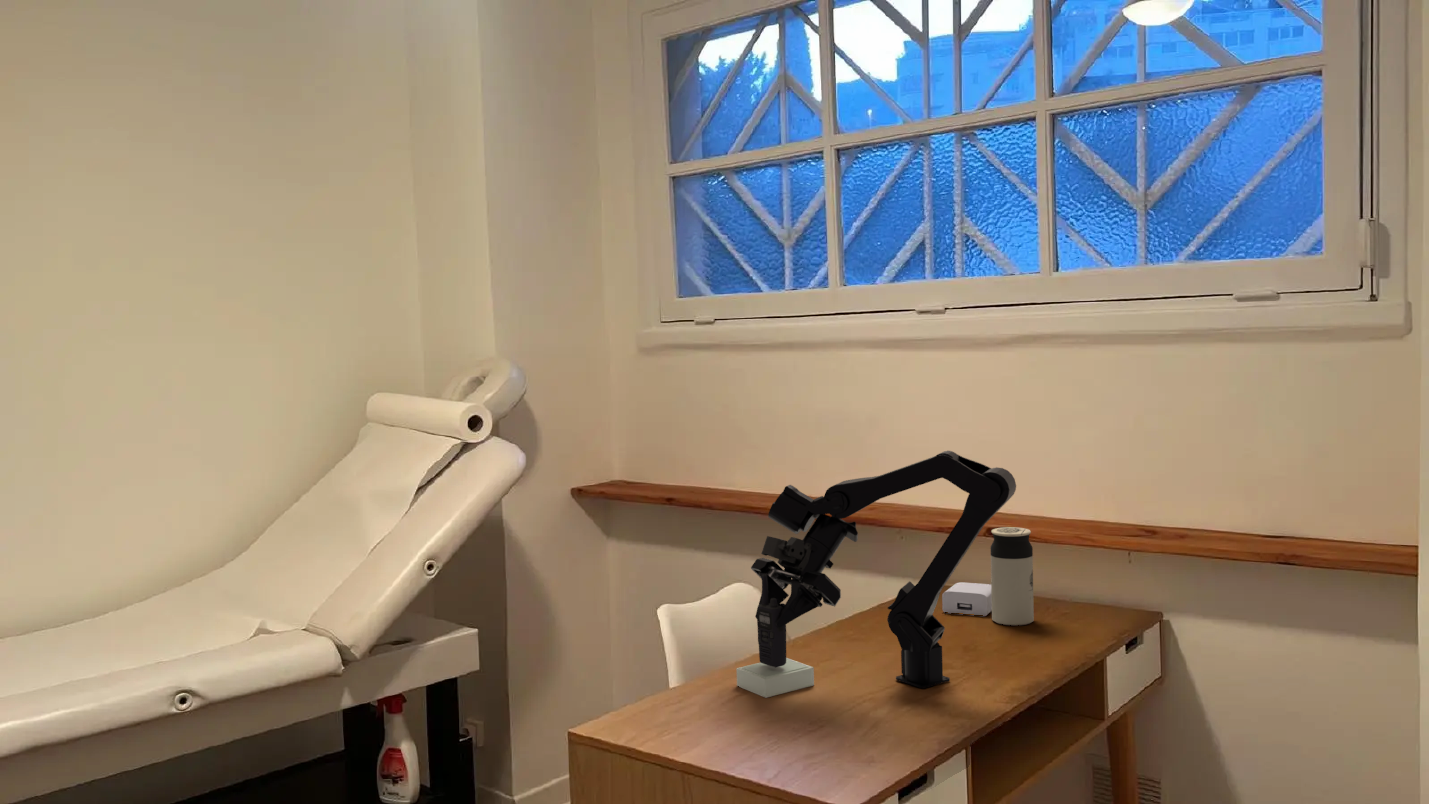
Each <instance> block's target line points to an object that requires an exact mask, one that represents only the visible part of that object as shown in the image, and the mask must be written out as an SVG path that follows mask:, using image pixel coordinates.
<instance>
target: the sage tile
mask: <svg viewBox="0 0 1429 804" xmlns="http://www.w3.org/2000/svg"><path fill="white" fill-rule="evenodd" d="M735 670H736V686H737V687H738V686H739V688H742V689H743V690H746V691H748V692H751V693H754V694H755V695H758V696H760V697H763V698H770V697H774V696H777V695H781V694H786V693H789V692H793V691H798V690H802V689H805V688H809V687H812V686H815V673H814V672H815V669H814V666H811V665H807V664H805V663H802V662H800V661H796V660H793V659H791V658H789V657H786V663H785V665H783V666H779V667H776V668H775V667H773V666H769V665H766V664H763V663H761V662H760V661H759V662H757V663H752V664H748V665H745V666H740V667H737V668H736V669H735Z"/></svg>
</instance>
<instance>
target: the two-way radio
mask: <svg viewBox="0 0 1429 804" xmlns="http://www.w3.org/2000/svg"><path fill="white" fill-rule="evenodd" d="M761 594H762V604H760V605H759V604H758V605H757V608H756V612H757V619H756V622H757V623H756V624H757V625H756V626H757V644H758V657H759V663H760V662H761V663H763V664H766V665H769V666H773V667H775V668H776V667H779V666H783V665H785V663H786V658H787V624H786V625H784V626H782V627H778V626H777V625H776V624H775V623H776V621H777V619H778V616H779V614H780V613H781V611H782V609H783V608H784V606H785V604H786V603H783V602H781V603H780V604H779V605H778V604H777V599H776V598H771V600H770V603H768V587H767V576H766V574H763V575H762V579H761Z"/></svg>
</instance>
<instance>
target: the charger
mask: <svg viewBox="0 0 1429 804" xmlns="http://www.w3.org/2000/svg"><path fill="white" fill-rule="evenodd" d="M941 600H942V601H941V602H942V607H941V608H942V612H943V613H945V612H948V613H947V614H951V613H963V614H974V615H983V616H982V617H987V615H988V614H989V613H992V597H991V583H990V584H988V583H975V582H964V581H963V582H956V583H954V584H953V585H952V586H950V587H949V588H948V589H947V590H945V591H944V592H943V593H942V594H941ZM963 614H962V615H963ZM974 615H973V616H974Z"/></svg>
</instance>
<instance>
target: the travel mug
mask: <svg viewBox="0 0 1429 804" xmlns="http://www.w3.org/2000/svg"><path fill="white" fill-rule="evenodd" d="M990 532H991V533H992V536H993V541H992V543H991V545H990V580H991V581H990V585H991V597H992V611H991V620H992V621H993V622H994V623H996V624H999V625H1002V624H1003V625H1004V626H1010V625H1011V626H1012V627H1013V626H1014V627H1015V626H1017V627H1018V625H1019V626H1027V625H1029V624H1031V623H1032V622H1034V619H1035V618H1034V616H1035V615H1034V614H1035V611H1034V607H1035V606H1034V563H1033V562H1034V557H1033V556H1034V553H1033V551H1034V550H1033V546H1032V544H1031V542H1030V535H1031V533H1032V531H1031V530H1030V529H1029V528H1023V527H1010V526H1008V527H998V528H997V527H996V528H993V529H991V531H990ZM1011 626H1010V627H1011Z"/></svg>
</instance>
